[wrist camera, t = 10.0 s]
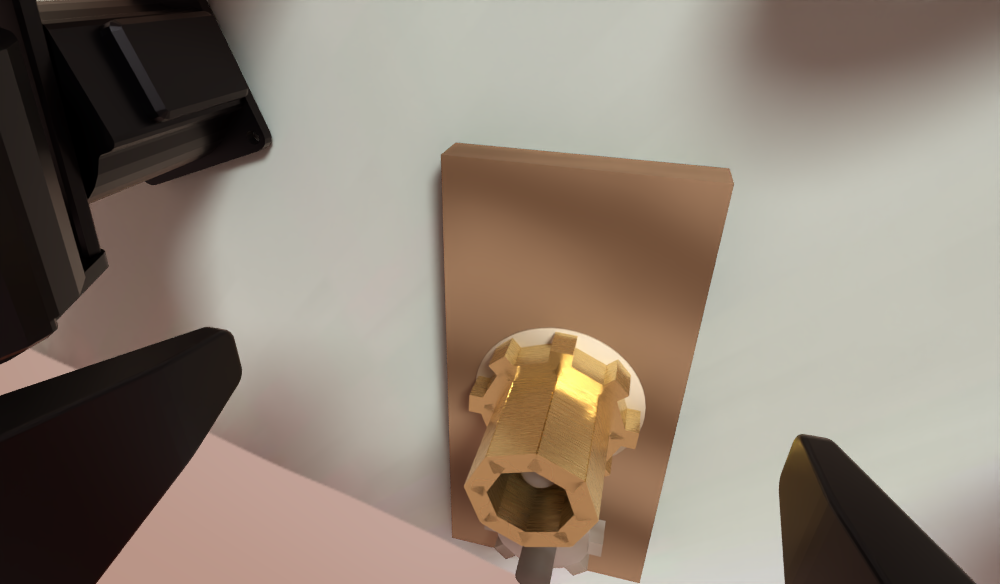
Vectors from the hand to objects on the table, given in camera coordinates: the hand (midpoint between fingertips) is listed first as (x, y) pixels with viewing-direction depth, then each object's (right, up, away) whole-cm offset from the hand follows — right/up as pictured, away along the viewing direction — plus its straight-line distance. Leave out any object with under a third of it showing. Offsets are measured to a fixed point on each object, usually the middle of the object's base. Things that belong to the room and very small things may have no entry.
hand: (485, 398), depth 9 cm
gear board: (+3, -2, +15) cm, 15 cm away
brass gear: (+2, -3, +13) cm, 14 cm away
